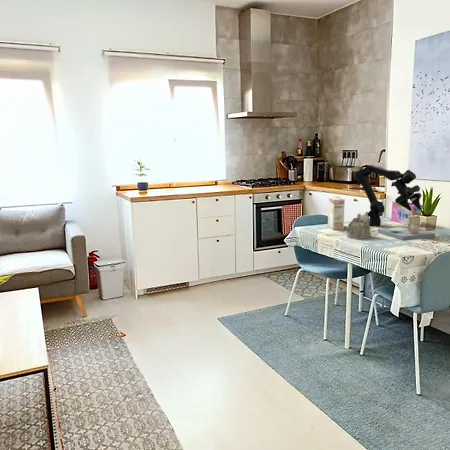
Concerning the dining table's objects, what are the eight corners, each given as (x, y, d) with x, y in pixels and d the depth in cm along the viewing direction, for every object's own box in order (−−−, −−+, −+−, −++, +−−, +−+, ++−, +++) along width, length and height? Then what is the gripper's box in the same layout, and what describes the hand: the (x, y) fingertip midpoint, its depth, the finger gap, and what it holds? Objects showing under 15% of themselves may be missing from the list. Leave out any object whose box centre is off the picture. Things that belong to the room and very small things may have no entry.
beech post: (407, 232, 247) (408, 215, 245) (413, 232, 249) (414, 215, 247) (412, 234, 243) (413, 217, 241) (418, 233, 244) (420, 216, 242)
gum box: (389, 220, 298) (390, 201, 295) (399, 219, 300) (400, 200, 297) (412, 226, 275) (413, 205, 273) (422, 225, 277) (424, 205, 274)
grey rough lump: (356, 231, 262) (357, 207, 258) (376, 237, 248) (377, 212, 244) (336, 235, 256) (337, 211, 252) (356, 242, 241) (356, 216, 238)
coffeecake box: (343, 229, 269) (345, 199, 265) (332, 229, 269) (333, 199, 265) (338, 225, 283) (339, 196, 280) (327, 225, 283) (328, 196, 280)
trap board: (377, 232, 259) (378, 229, 259) (408, 229, 265) (408, 226, 265) (402, 239, 238) (402, 236, 238) (435, 236, 245) (435, 233, 244)
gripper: (402, 181, 248) (416, 204, 242) (421, 179, 258) (435, 201, 252) (389, 192, 257) (402, 214, 251) (407, 190, 267) (421, 210, 261)
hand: (415, 209), depth 253 cm, fingers open, 9 cm apart
